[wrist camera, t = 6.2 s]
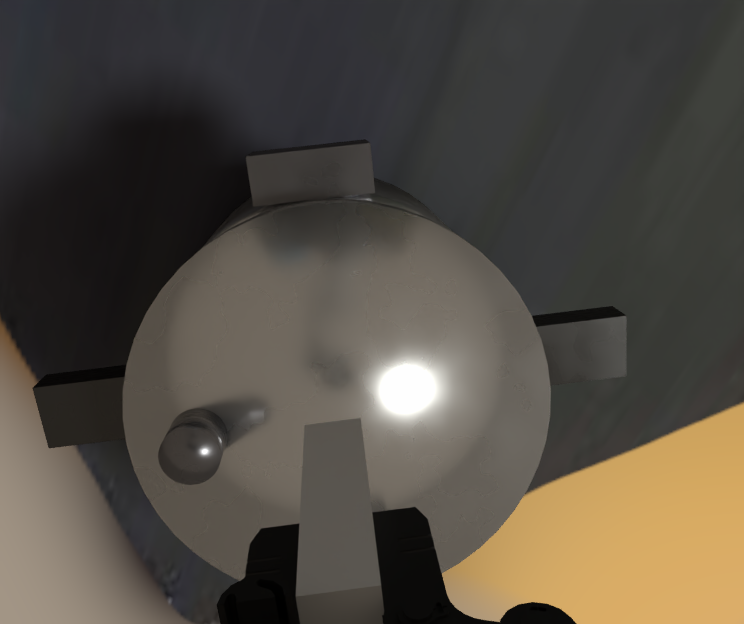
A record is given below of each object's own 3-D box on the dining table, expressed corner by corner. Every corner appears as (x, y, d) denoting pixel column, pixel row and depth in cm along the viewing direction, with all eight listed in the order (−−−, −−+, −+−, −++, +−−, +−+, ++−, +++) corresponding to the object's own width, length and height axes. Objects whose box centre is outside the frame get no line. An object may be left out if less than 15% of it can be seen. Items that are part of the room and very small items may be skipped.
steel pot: (70, 163, 38) (-37, 188, 27) (547, 111, 39) (640, 113, 28) (139, 465, 44) (74, 593, 32) (555, 412, 45) (635, 518, 33)
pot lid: (552, 618, 34) (575, 667, 31) (184, 669, 33) (170, 724, 30) (533, 176, 28) (559, 181, 25) (90, 226, 27) (60, 238, 24)
